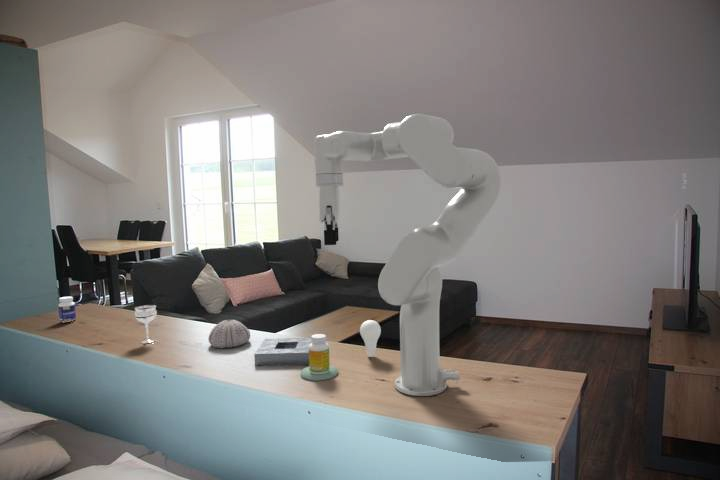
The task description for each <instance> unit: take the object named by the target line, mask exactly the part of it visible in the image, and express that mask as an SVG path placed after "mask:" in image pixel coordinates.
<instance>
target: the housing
mask: <svg viewBox="0 0 720 480" xmlns="http://www.w3.org/2000/svg"><path fill="white" fill-rule="evenodd" d="M311 343H312V342H311V337H292V338H291V337H290V338H288V337H287V338H286V337H285V338H282V337H281V338H264V339H263V341H262V342H261V343H260V345H259V347H258V348H257V349H256V351H255V352H254V353H253V354H254V355H253V356H254V366H255V367H256V366H257V367H266V366H267V367H268V366H272V367H273V366H304V365H305V366H309V345H310V344H311Z"/></svg>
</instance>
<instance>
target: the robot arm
mask: <svg viewBox="0 0 720 480" xmlns="http://www.w3.org/2000/svg"><path fill="white" fill-rule="evenodd" d="M454 138H455V133H454V129H453V127H452V125H451V124H450V122H449V121H448V120H446V119H444V118H443V117H439V116H433V115H429V114H424V113H413V114H410V115H408V116H406V117H405V118H403V120H402V121H398V122H397V121H396V122H391V123H388V124H387V125H386V126H384V128H383V130H382V131H377V132H358V131H351V130H350V131H349V130H347V131H346V130H338V131H336V132H335V131H334V132H332V133H330V134H321V135H317V136H315V138H314V142H313V143H314V165H315V167H314V168H315V187H319V193H318V195H319V196H318V198H319V199H318V201H319V202H318V203H319V204H318V205H319V206H318V207H319V222H320V223H324V229H323V236H324V237H323V238H324V239H323V242H324V243H323V244H324V246H336V245H337V242H339V240H340V237H339V226H338V221H339V220H340V207H341V206H340V203H341V202H340V187H343V186H344V166H343V164H344V163H343V161H353V162H355V161H356V162H374V161H375V162H376V161H384V160H391V159H392V160H394V159H404V158H410V159H411V160H412V161H413V162H414V163H415V164H416V165H417V167H419V169H421V170H422V171H423V172H424V173H425V174H426V175H427V176H428V177H429V178H430V180H432V181H433V182H434V183H435V184H437V185H439V186H441V187H443V188H445V189H446V188H447V189H460V190H459V191H458V193H457V194H455V196H454V197H453V198H452V199H450V201H449V202H448V203H447V204H446V205H445V207H444V208H443V210H442V212H441V214H440V215H439V216H438V218H437V219H436V220H435V221H434V222H433V223H432V224H430V225H426V226H419V227H416V228H413V229H412V230H410V231H409V232H407V233H406V234H405V235H404V236H403V237H402V239H401V240H400V242H399V243H398V244H397V246H396V248H395V249H394V250H393V252H392V254H391V255H390V257H389V258H388V259H387V261H386V263H385V265H384V266H383V268H382V269H381V271H380V274H379V277H378V282H377V288H378V292H379V295H380V298H382V300H383V301H384V302H386V303H387V304H390V305H392V306H400V311H399V342H400V343H399V351H400V353H399V354H400V375H399V376H397V377H396V379H394V387H395V389H396V390H397V391H399V392H400V393H402V394H406V395H409V396H415V397H429V396H434V395H439V394H440V393H442V392H444V391H445V390H446V388H447V381H459V380H461V378H460V371H454V370H453V369H443V368H442V367H441V365H440V364H441V363H440V362H441V361H440V303H441V302H440V301H441V294H442V290H443V276H442V272H441V269H440V268H441V267H444V266H448V265H451V264H452V263H453V262H455V260H456V259H457V258H458V257H459V255H460V254H461V252H462V251H463V250H464V248H465V247H466V246H467V244H468V243H469V241H470V240H471V239H472V237H473V236H474V234H475V233H476V231H477V229H478V228H479V227H480V225H481V224H482V222H483V221H484V220H485V219H486V217H487V216H488V215H489V213H490V212H491V210H492V209H493V208H494V206H495V204H496V202H497V200H498V197H499V195H500V192H501V186H502V178H501V172H500V169H499V166H498V163H497V162H496V161H495V160H494V158H493V157H492V156H491V155H490V154H489V153H487V152H486V151H483V150H480V149H478V148H468V147H457V146H456V145H454V144H453V142H454Z"/></svg>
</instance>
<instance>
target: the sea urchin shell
mask: <svg viewBox="0 0 720 480" xmlns="http://www.w3.org/2000/svg"><path fill="white" fill-rule="evenodd" d="M250 339H251V332H250V329H249V328H248V327H247V326H245V324H243V322H241V321H239V320H237V319H224V320H222V321H220V322H218V323H217V324H216V325H215V326H214V327H213V328H211V331H210V332H209V335H208V339H207V340H208V343H209V345H211V347H214V348H218V349H220V348H221V349H225V348H228V349H229V348H232V347H233V348H234V347H235V348H236V347H238V346H242V345H245V343H248V342H249V341H250Z"/></svg>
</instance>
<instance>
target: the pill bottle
mask: <svg viewBox="0 0 720 480" xmlns="http://www.w3.org/2000/svg"><path fill="white" fill-rule="evenodd" d="M73 300H74V297H73V296H71V295H70V296H62V297H59V299H58V301H59V303H58V318H59V319H58V321H59V322H60V321H70V320H74V319H76V320H77V315H76V302H74V301H73Z"/></svg>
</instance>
